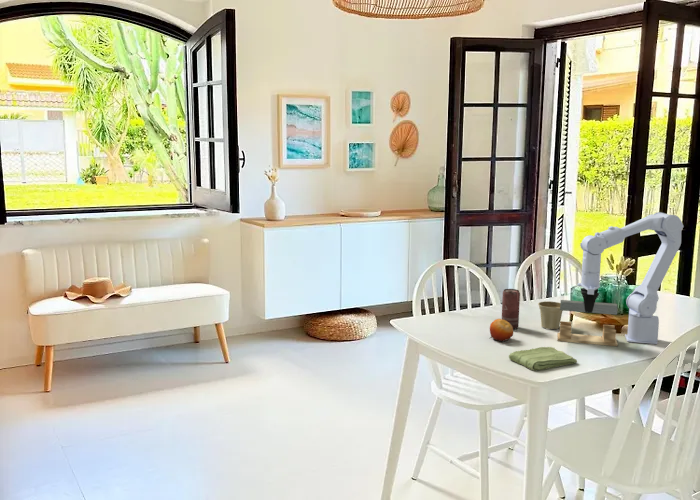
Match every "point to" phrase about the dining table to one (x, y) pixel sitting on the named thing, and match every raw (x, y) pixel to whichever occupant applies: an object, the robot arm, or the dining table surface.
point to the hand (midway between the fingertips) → (588, 310)
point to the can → (511, 307)
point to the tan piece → (605, 339)
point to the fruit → (501, 330)
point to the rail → (579, 307)
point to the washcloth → (541, 358)
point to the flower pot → (550, 314)
